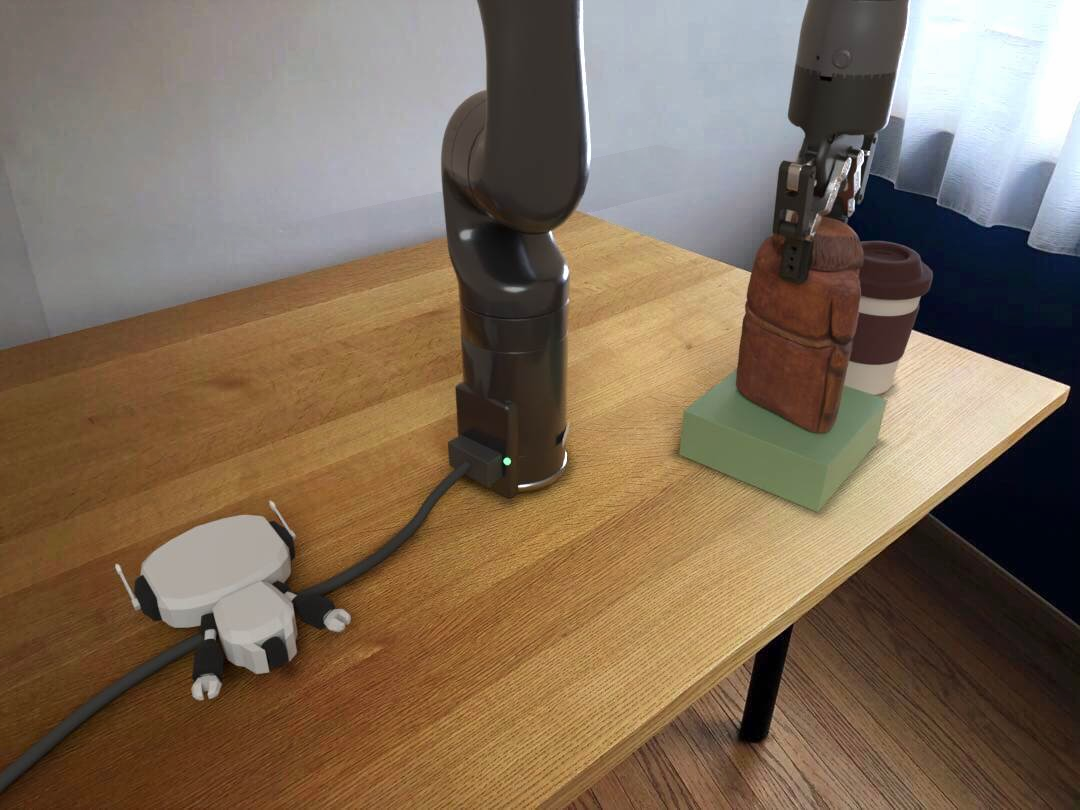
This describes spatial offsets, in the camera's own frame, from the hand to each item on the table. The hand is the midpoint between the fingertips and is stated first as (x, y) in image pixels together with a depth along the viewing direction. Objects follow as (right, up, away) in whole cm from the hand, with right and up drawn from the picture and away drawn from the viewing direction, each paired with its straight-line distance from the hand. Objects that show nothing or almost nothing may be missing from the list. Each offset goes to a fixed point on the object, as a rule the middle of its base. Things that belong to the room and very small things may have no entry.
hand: (810, 268), depth 73 cm
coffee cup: (+12, -9, +21) cm, 26 cm away
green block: (0, -16, +10) cm, 19 cm away
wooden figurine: (0, -12, +7) cm, 14 cm away
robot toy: (-45, -28, -10) cm, 54 cm away
